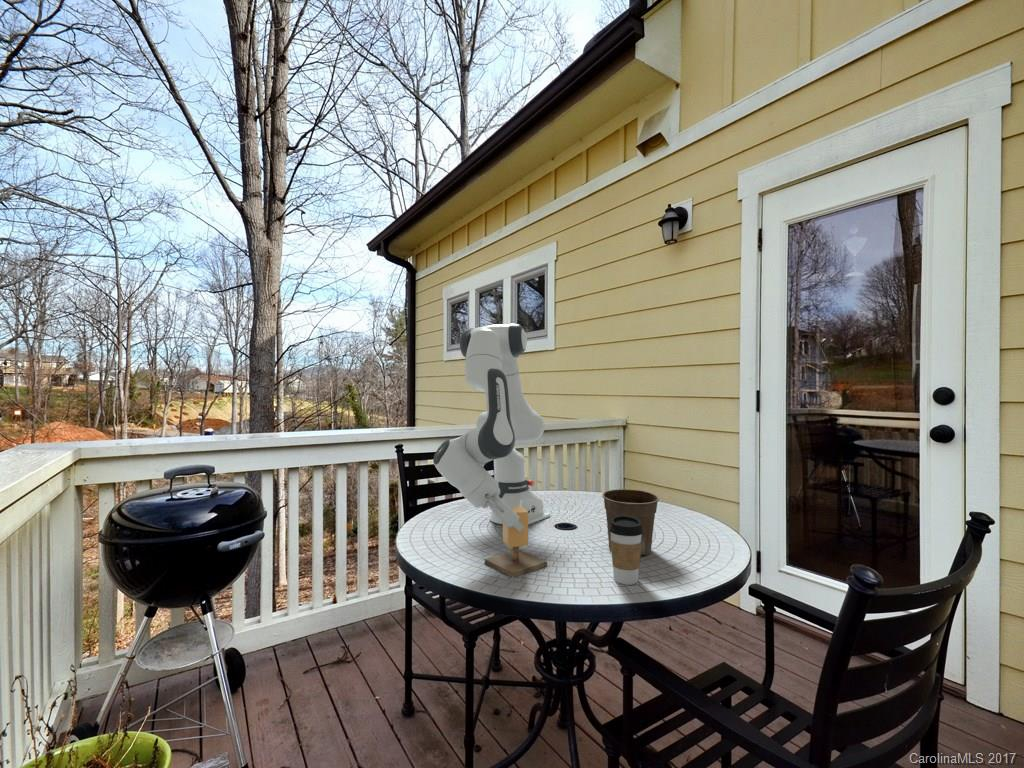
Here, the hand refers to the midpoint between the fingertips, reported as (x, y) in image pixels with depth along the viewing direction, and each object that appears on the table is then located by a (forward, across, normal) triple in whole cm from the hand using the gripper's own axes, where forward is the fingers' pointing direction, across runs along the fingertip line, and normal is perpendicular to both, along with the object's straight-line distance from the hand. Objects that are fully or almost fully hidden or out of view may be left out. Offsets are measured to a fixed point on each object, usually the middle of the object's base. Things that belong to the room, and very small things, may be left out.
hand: (517, 524), depth 130 cm
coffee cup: (+24, -17, -9) cm, 31 cm away
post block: (+7, 0, +8) cm, 11 cm away
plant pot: (+32, +2, -17) cm, 37 cm away
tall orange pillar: (+3, 0, +4) cm, 5 cm away
